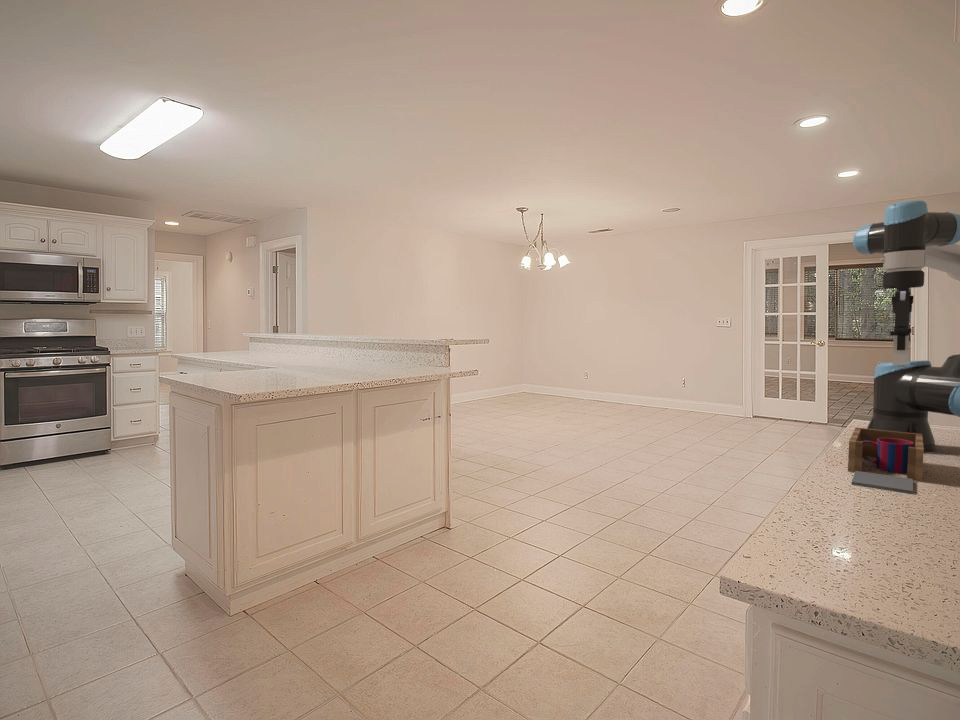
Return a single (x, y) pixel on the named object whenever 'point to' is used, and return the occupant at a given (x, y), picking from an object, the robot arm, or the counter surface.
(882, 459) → the mug
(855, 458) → the walnut box
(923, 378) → the robot arm
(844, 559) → the counter surface
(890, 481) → the slate mat
